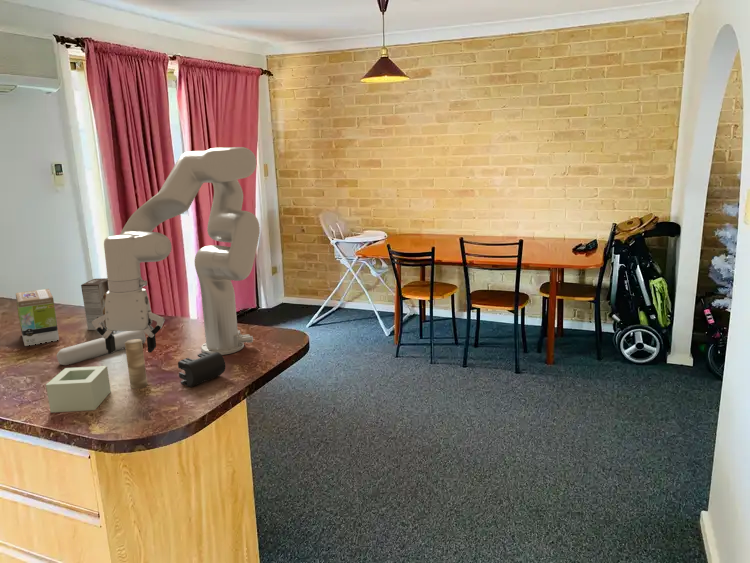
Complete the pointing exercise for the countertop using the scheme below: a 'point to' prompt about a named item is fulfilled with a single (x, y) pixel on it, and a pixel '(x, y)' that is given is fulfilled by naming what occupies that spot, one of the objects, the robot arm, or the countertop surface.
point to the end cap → (201, 368)
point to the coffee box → (95, 300)
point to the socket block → (78, 389)
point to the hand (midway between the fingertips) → (131, 351)
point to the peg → (136, 363)
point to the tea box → (37, 316)
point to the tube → (96, 347)
